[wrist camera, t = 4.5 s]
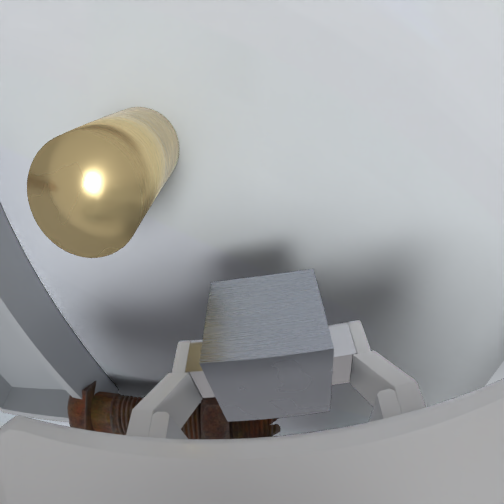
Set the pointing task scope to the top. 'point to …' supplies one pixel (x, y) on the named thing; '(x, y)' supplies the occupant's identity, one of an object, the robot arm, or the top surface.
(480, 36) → the top surface
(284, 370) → the steel block
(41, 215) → the brass cylinder
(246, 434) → the bolt
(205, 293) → the top surface
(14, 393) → the parts tray
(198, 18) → the top surface
